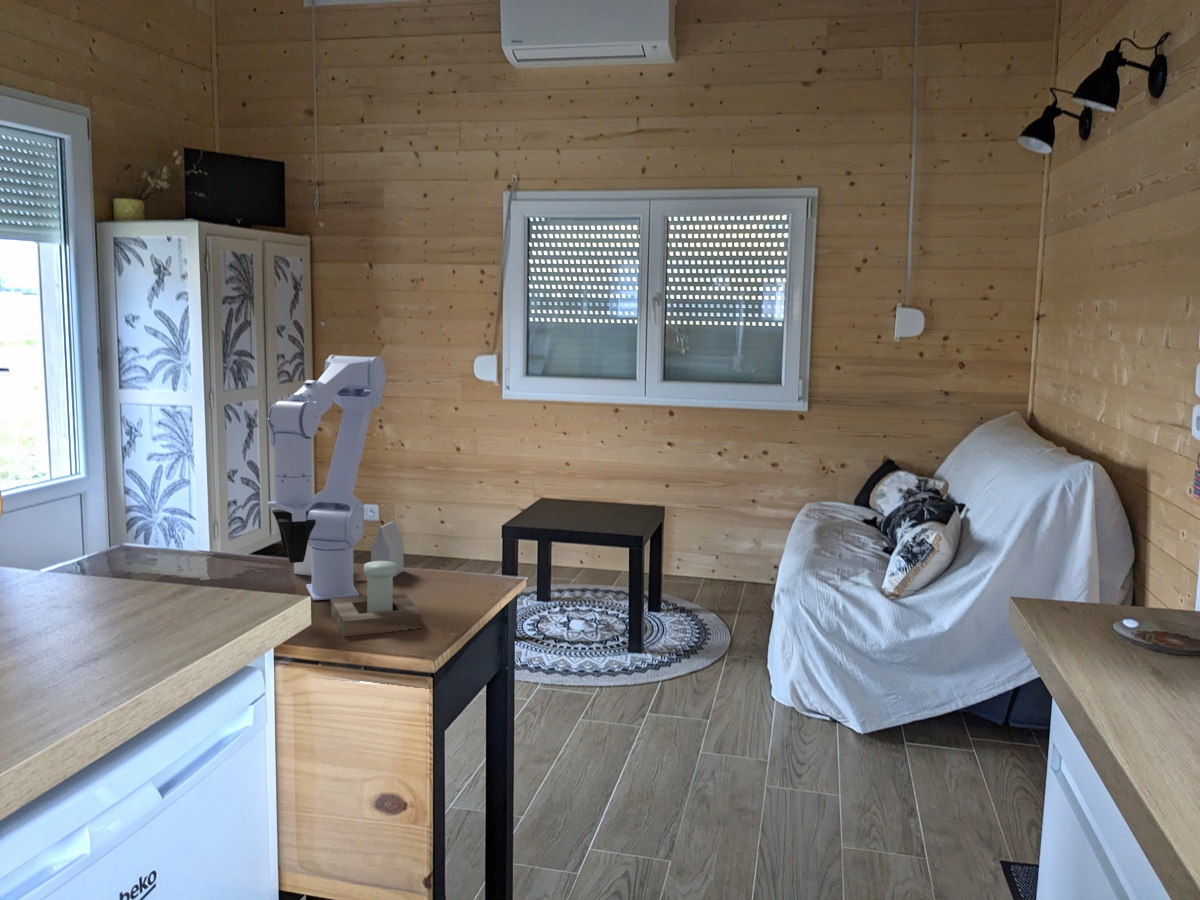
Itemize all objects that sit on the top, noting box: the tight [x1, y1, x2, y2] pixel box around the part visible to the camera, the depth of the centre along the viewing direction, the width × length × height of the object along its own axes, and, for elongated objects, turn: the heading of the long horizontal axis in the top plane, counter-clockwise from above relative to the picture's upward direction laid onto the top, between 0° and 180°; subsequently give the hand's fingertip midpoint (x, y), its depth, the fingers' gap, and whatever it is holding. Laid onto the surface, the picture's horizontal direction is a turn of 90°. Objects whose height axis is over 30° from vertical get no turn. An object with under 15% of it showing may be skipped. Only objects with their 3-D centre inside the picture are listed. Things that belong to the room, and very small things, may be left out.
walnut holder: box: [330, 592, 423, 637], centre depth 164 cm, size 12×12×2 cm
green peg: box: [363, 561, 397, 613], centre depth 164 cm, size 5×5×10 cm
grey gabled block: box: [370, 520, 404, 578], centre depth 192 cm, size 4×7×10 cm, turn 168°
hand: (293, 556), depth 163 cm, fingers open, 7 cm apart
